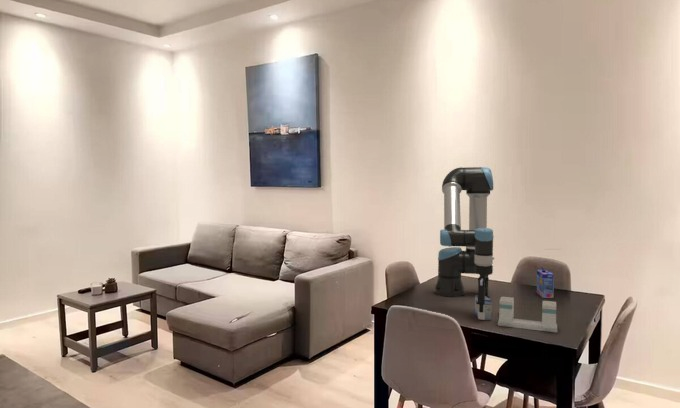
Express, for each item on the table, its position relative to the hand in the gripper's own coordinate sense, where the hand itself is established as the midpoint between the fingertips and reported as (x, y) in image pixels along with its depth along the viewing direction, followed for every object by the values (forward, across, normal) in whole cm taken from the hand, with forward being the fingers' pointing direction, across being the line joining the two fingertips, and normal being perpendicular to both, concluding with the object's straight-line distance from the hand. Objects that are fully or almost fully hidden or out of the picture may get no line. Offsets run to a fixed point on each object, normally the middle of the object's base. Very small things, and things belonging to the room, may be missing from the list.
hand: (482, 315), depth 200 cm
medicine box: (+1, 0, 0) cm, 1 cm away
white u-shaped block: (0, -5, -18) cm, 19 cm away
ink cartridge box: (+1, +47, -24) cm, 53 cm away
